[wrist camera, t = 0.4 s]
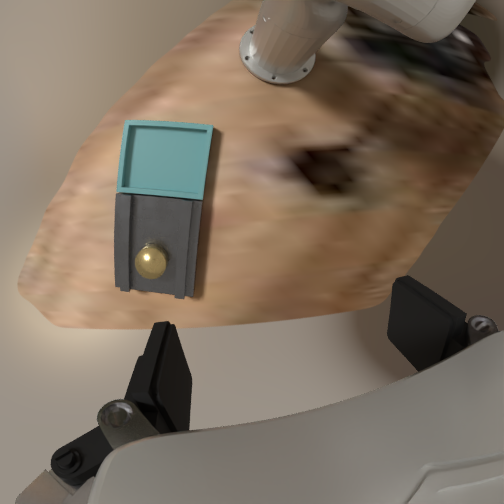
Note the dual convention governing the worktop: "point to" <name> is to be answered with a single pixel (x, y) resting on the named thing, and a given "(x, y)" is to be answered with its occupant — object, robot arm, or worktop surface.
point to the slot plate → (157, 241)
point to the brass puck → (151, 261)
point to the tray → (164, 158)
